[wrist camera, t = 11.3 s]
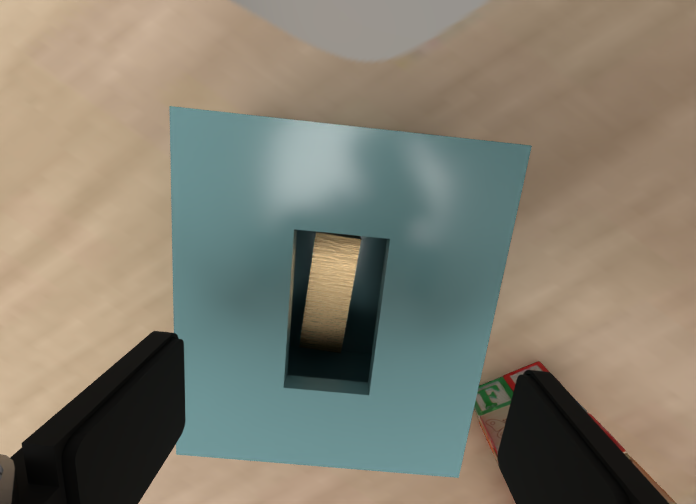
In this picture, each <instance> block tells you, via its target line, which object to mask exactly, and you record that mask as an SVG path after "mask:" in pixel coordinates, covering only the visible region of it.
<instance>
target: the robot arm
mask: <svg viewBox="0 0 696 504" xmlns="http://www.w3.org/2000/svg"><path fill="white" fill-rule="evenodd" d="M185 420H186V417H185V366H184V342H183V340H182V339H179V338H178V335H177V334H176V333H169V332H159V331H154V332H152V333H151V334H149V335H148V336H147V337H146V338H145V339H144V340H142V341H141V342H140V343H139V344H138V345H136V346H135V347H134V348H133V349H132V350H131V351H129V352H128V353H127V354H126V355H125V356H124V357H122V358H121V359H120V360H119V361H118V362H116V363H115V364H114V365H113V366H112V367H111V368H109V369H108V370H107V371H106V372H105V373H104V374H102V375H101V376H100V377H99V378H98V379H97V380H95V381H94V382H93V383H92V384H91V385H89V386H88V387H87V388H86V389H85V390H84V391H82V392H81V393H80V394H79V395H78V396H77V397H75V398H74V399H73V400H72V401H71V402H69V403H68V404H67V405H66V406H65V407H64V408H62V409H61V410H60V411H59V412H58V413H57V414H55V415H54V416H53V417H52V418H51V419H50V420H48V421H47V422H46V423H45V424H44V425H42V426H41V427H40V428H39V429H38V430H37V431H35V432H34V433H33V434H32V435H31V436H30V437H28V438H27V439H26V440H25V441H24V442H22V448H21V449H20V450H19V451H17V452H16V453H15V454H14V455H13V456H12V457H11V458H9V457H8V456H6V455H1V454H0V504H138V503H139V501H140V500H141V498H142V497H143V495H144V493H145V492H146V490H147V489H148V487H149V486H150V484H151V482H152V481H153V479H154V478H155V476H156V474H157V473H158V471H159V470H160V468H161V467H162V465H163V463H164V462H165V460H166V459H167V457H168V455H169V454H170V452H171V451H172V449H173V448H174V446H175V444H176V443H177V441H178V440H179V438H180V436H181V435H182V433H183V430H184V427H185ZM498 465H499V468H500V470H501V472H502V474H503V477H504V479H505V481H506V483H507V485H508V487H509V490H510V492H511V494H512V496H513V498H514V500H515V503H516V504H669V503H668V501H667V500H666V499H665V498H664V497H663V496H662V495H661V494H660V493H659V491H658V490H657V489H656V488H655V487H654V486H653V485H652V484H651V483H650V482H649V480H648V479H647V478H646V477H645V476H644V475H643V474H642V473H641V472H640V471H639V469H638V468H637V467H636V466H635V465H634V464H633V463H632V462H631V461H630V460H629V458H628V457H627V456H626V455H625V454H624V453H623V452H622V451H621V450H620V449H619V447H618V446H617V445H616V444H615V443H614V442H613V441H612V440H611V439H610V437H609V436H608V435H607V434H606V433H605V432H604V431H603V430H602V429H601V428H600V426H599V425H598V424H597V423H596V422H595V421H594V420H593V419H592V418H591V417H590V415H589V414H588V413H587V412H586V411H585V410H584V409H583V408H582V407H581V406H580V404H579V403H578V402H577V401H576V400H575V399H574V398H573V397H572V396H571V395H570V393H569V392H568V391H567V390H566V389H565V388H564V387H563V386H562V385H561V384H560V382H559V381H558V380H557V379H556V378H555V377H554V376H553V375H552V374H551V373H550V372H545V371H535V370H526V371H525V372H524V373H523V375H522V374H520V375H519V376H518V377H517V380H516V384H515V388H514V392H513V396H512V400H511V403H510V407H509V411H508V415H507V419H506V423H505V427H504V430H503V434H502V438H501V442H500V446H499V450H498Z"/></svg>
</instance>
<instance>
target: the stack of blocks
mask: <svg viewBox="0 0 696 504" xmlns="http://www.w3.org/2000/svg"><path fill="white" fill-rule="evenodd" d="M526 370H535V371H545V372H549V371H548V370H547V369H546V368H545V366H544V365H543V364H542V363H541V362H539V361H538V362H535V363H533V364H531V365H528V366H526V367H523V368H521V369H518V370H516V371H513V372H511V373H509V374H506V375H504V376H502V377H500V378H498V379H495V380H493V381H490V382H488V383H485V384H483V385H480V386H479V387H478V392H477V396H476V401H475V405H474V410H475V412H476V414H477V417H478V419H479V423H480V426H481V428H482V430H483V432H484V434H485V436H486V439H487V441H488V443H489V445H490V447H491V449H492V452H493V454H494V457H495V459H496V461H497V463H498V450H499V446H500V442H501V438H502V434H503V430H504V427H505V423H506V419H507V415H508V411H509V407H510V403H511V400H512V396H513V392H514V388H515V384H516V380H517V377H518V376H519V375H520V374H522V375H523V373H524V372H525V371H526ZM560 384H561V383H560ZM561 385H562V384H561ZM580 406H581V405H580ZM581 407H582V406H581ZM582 408H583V407H582ZM583 409H584V408H583ZM584 410H585V409H584ZM585 411H586V410H585ZM586 412H587V411H586ZM587 413H588V412H587ZM588 414H589V413H588ZM589 415H590V417H591V418H592V419H593V420H594V421H595V422H596V423H597V424H598V425H599V426H600V428H601V429H602V430H603V431H604V432H605V433H606V434H607V435H608V436H609V437H610V439H611V440H612V441H613V442H614V443H615V444H616V445H617V446H618V447H619V449H620V450H621V451H622V452H623V453H624V454H625V455H626V456H627V457H628V458H629V460H630V461H631V462H632V463H633V464H634V465H635V466H636V467H637V468H638V469H639V471H640V472H641V473H642V474H643V475H644V476H645V477H646V478H647V479H648V480H649V482H650V483H651V484H652V485H653V486H654V487H655V488H656V489H657V490H658V491H659V493H660V494H661V495H662V496H663V497H664V498H665V499H666V500H667V501H668V503H669V504H676V503H675V501H674V500H673V499H672V498H671V497H670V496H669V495H668V494H667V493H666V492H665V491H664V490H663V489H662V488H661V487H660V486H659V485H658V484H657V483H656V482H655V481H654V480H653V479H652V478H651V477H650V476H649V475H648V474H647V473H646V471H645V470H644V469H643V468H642V467H641V466H640V465H639V464H638V463H637V462H636V461H635V460H633V459H632V458H631V457H630V456H629V455H628V454H627V452H626V450H625V449H624V448H623V447H622V446H621V445H620V444H619V443H618V442H617V441H616V439H615V438H614V437H613V436H612V435H611V434H610V433H609V432H608V431H607V430H606V429H605V428H604V427H603V426H602V425H601V424H600V423H599V422H598V421H597V420H596V419H595V418H594V417H593V416H592V415H591V414H589Z"/></svg>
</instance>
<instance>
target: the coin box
mask: <svg viewBox="0 0 696 504" xmlns="http://www.w3.org/2000/svg"><path fill="white" fill-rule="evenodd" d="M531 147H532V146H531V145H521V144H512V143H503V142H494V141H485V140H475V139H466V138H457V137H448V136H439V135H430V134H420V133H411V132H402V131H393V130H384V129H374V128H365V127H356V126H347V125H338V124H328V123H319V122H310V121H301V120H292V119H282V118H273V117H264V116H255V115H246V114H236V113H227V112H218V111H209V110H200V109H191V108H181V107H172V106H170V152H171V203H172V255H173V306H174V333H176V334H177V335H178V338H179V339H182V340H183V342H184V366H185V417H186V420H185V427H184V430H183V433H182V435H181V436H180V438H179V440H178V441H177V443H176V454H177V455H189V456H201V457H213V458H225V459H238V460H250V461H262V462H274V463H286V464H298V465H311V466H323V467H335V468H347V469H359V470H371V471H384V472H396V473H408V474H420V475H432V476H444V477H456V478H459V473H460V469H461V464H462V460H463V455H464V451H465V446H466V442H467V437H468V433H469V428H470V423H471V419H472V414H473V410H474V405H475V401H476V396H477V392H478V387H479V383H480V378H481V374H482V369H483V365H484V360H485V355H486V351H487V346H488V342H489V337H490V333H491V328H492V324H493V319H494V315H495V310H496V306H497V301H498V296H499V292H500V287H501V283H502V278H503V274H504V269H505V265H506V260H507V256H508V251H509V247H510V242H511V237H512V233H513V228H514V224H515V219H516V215H517V210H518V206H519V201H520V197H521V192H522V188H523V183H524V178H525V174H526V169H527V165H528V160H529V156H530V151H531ZM316 232H326V233H336V234H346V235H356V236H361V244H360V250H359V255H358V261H357V266H356V272H355V278H354V283H353V289H352V294H351V300H350V305H349V311H348V317H347V322H346V328H345V333H344V339H343V345H342V350H341V353H335V352H328V351H322V350H315V349H308V348H301V347H299V345H300V338H301V331H302V324H303V317H304V311H305V304H306V297H307V290H308V283H309V276H310V270H311V263H312V256H313V249H314V242H315V235H316Z"/></svg>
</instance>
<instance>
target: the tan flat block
mask: <svg viewBox="0 0 696 504" xmlns="http://www.w3.org/2000/svg"><path fill="white" fill-rule="evenodd" d="M360 244H361V236H356V235H346V234H336V233H326V232H316V235H315V242H314V249H313V256H312V263H311V270H310V276H309V283H308V290H307V297H306V304H305V311H304V317H303V324H302V331H301V338H300V345H299V347H301V348H308V349H315V350H322V351H328V352H335V353H341V350H342V345H343V339H344V333H345V328H346V322H347V317H348V311H349V305H350V300H351V294H352V289H353V283H354V278H355V272H356V266H357V261H358V255H359V250H360Z"/></svg>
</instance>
